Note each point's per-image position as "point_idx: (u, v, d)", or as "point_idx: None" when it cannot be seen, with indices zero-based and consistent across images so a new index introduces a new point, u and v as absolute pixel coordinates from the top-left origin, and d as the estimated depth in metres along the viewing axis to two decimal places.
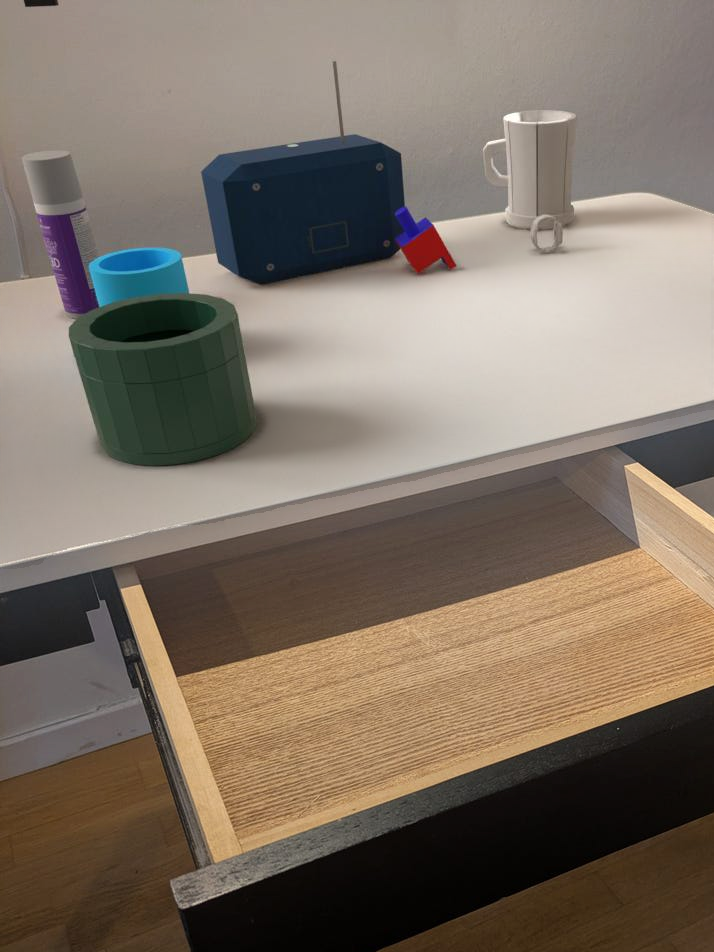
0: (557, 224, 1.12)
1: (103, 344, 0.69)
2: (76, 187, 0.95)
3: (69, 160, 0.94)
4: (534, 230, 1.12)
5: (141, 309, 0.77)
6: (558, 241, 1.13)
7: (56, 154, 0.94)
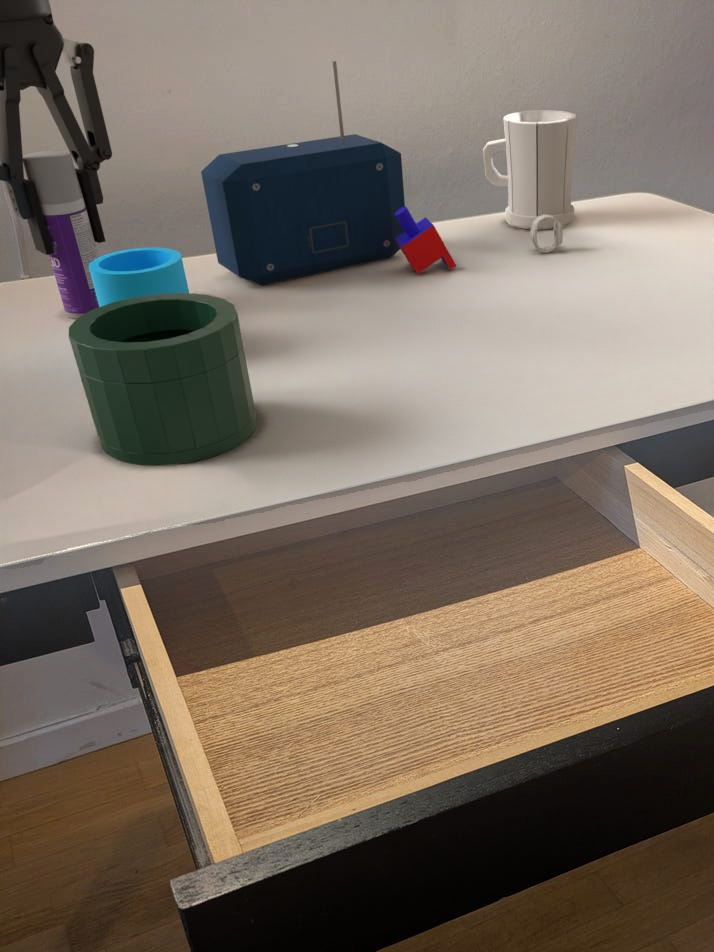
0: (557, 224, 1.12)
1: (103, 344, 0.69)
2: (76, 187, 0.95)
3: (69, 160, 0.94)
4: (534, 230, 1.12)
5: (141, 309, 0.77)
6: (558, 241, 1.13)
7: (56, 154, 0.94)
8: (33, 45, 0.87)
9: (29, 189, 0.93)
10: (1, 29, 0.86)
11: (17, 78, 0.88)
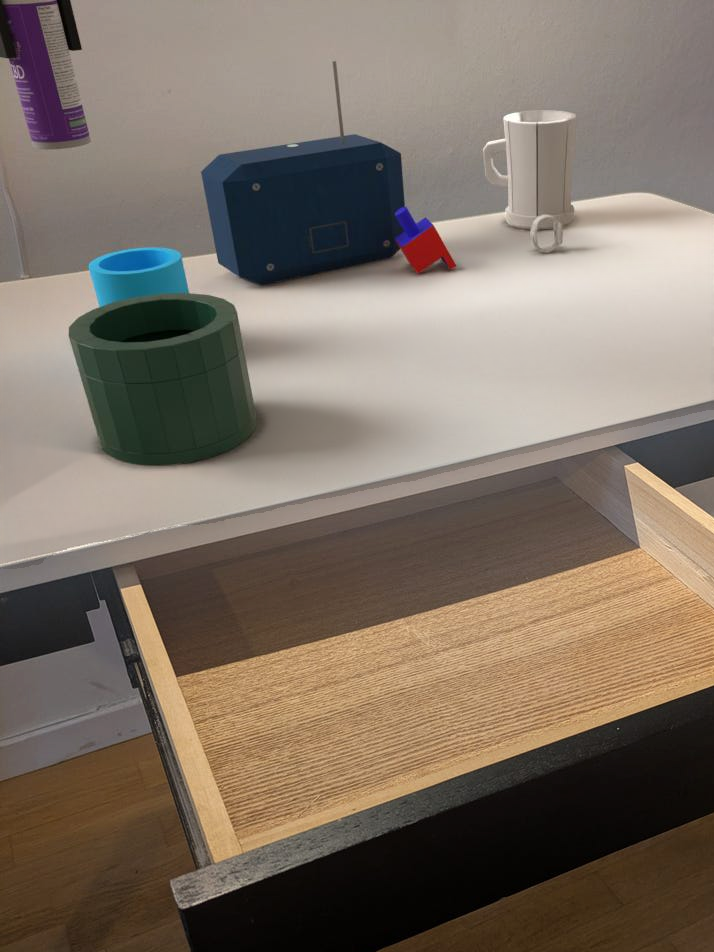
0: (557, 224, 1.12)
1: (103, 344, 0.69)
2: None
3: None
4: (534, 230, 1.12)
5: (141, 309, 0.77)
6: (558, 241, 1.13)
7: None
8: None
9: None
10: None
11: None
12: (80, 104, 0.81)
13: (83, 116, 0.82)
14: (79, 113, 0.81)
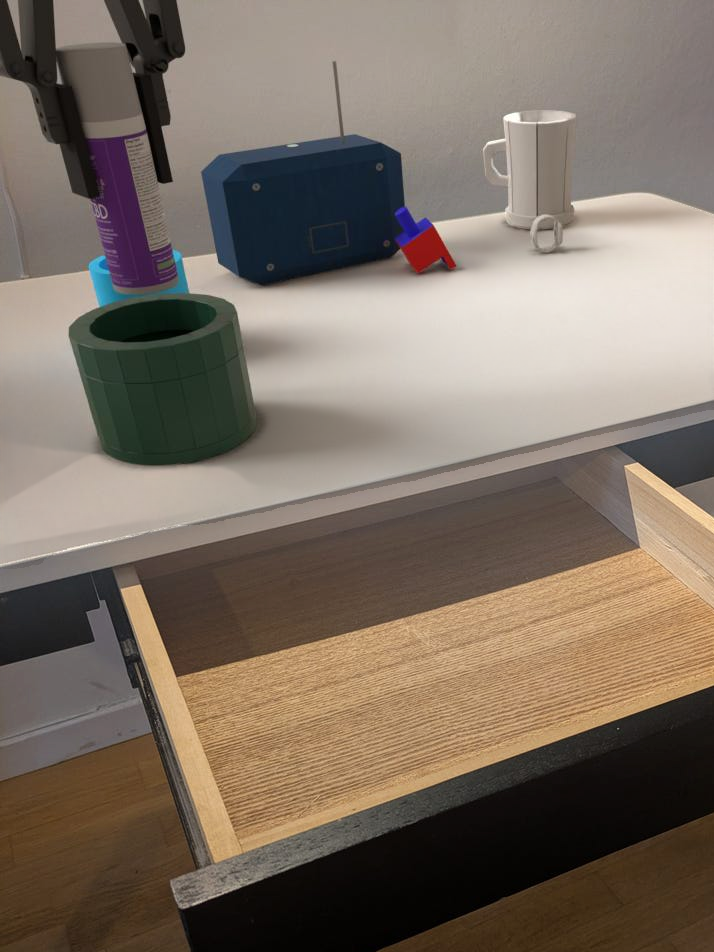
0: (557, 224, 1.12)
1: (103, 344, 0.69)
2: (134, 97, 0.64)
3: (125, 54, 0.62)
4: (534, 230, 1.12)
5: (141, 309, 0.77)
6: (558, 241, 1.13)
7: (105, 45, 0.62)
8: None
9: (65, 97, 0.62)
10: None
11: None
12: (169, 242, 0.70)
13: (172, 255, 0.70)
14: (168, 253, 0.70)
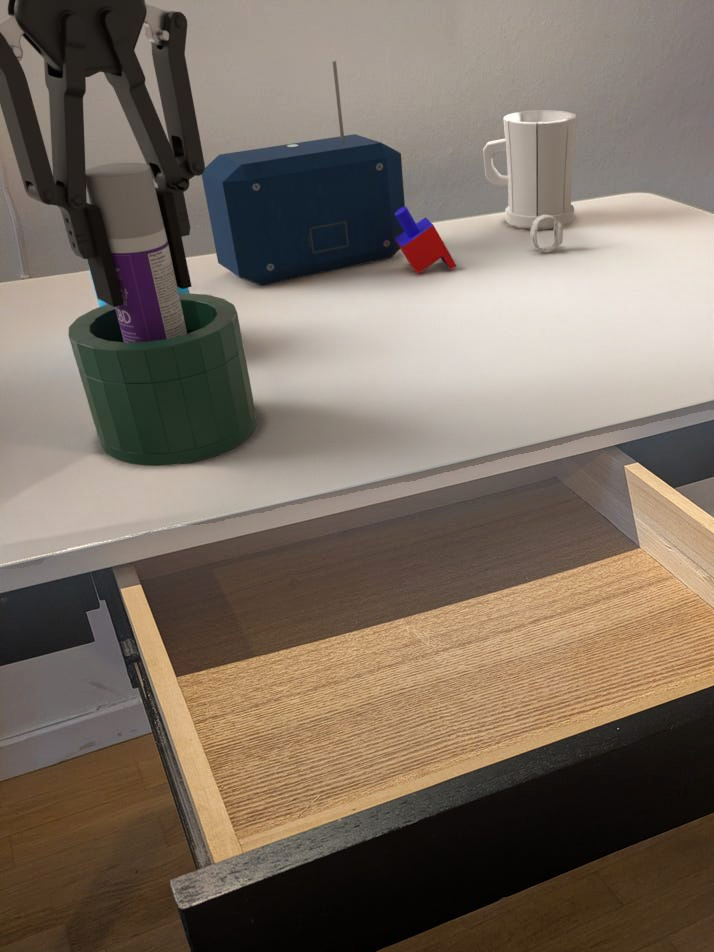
0: (557, 224, 1.12)
1: (103, 344, 0.69)
2: (157, 214, 0.68)
3: (149, 177, 0.67)
4: (534, 230, 1.12)
5: None
6: (558, 241, 1.13)
7: (131, 168, 0.67)
8: (106, 13, 0.61)
9: (93, 217, 0.66)
10: None
11: (82, 60, 0.61)
12: None
13: None
14: None
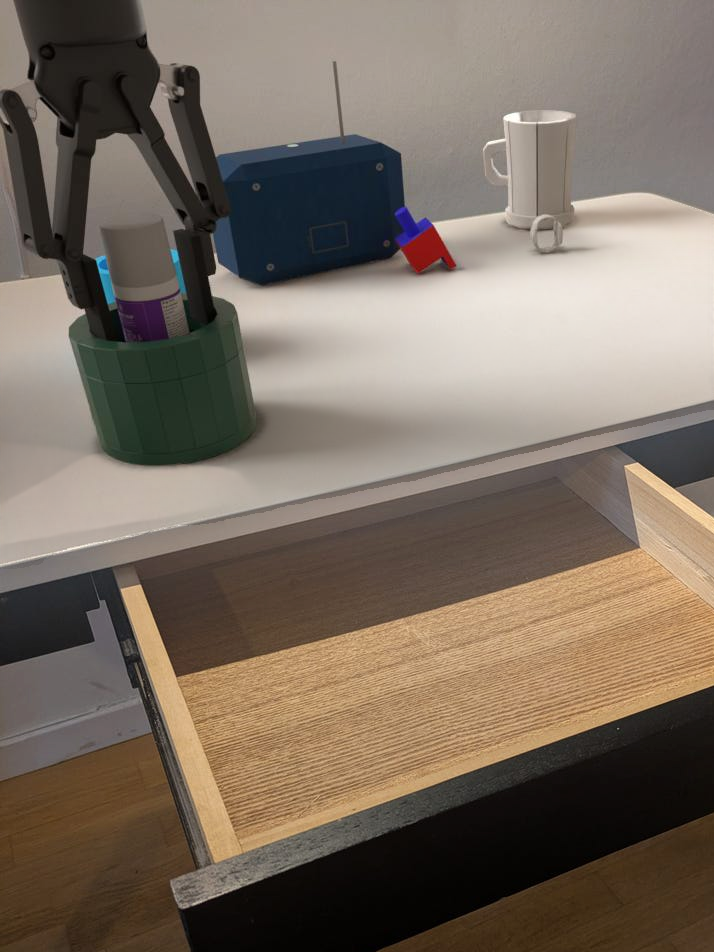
0: (557, 224, 1.12)
1: (103, 344, 0.69)
2: (169, 263, 0.70)
3: (162, 228, 0.69)
4: (534, 230, 1.12)
5: None
6: (558, 241, 1.13)
7: (144, 219, 0.69)
8: (121, 79, 0.63)
9: (90, 269, 0.67)
10: (79, 56, 0.61)
11: (95, 123, 0.63)
12: None
13: None
14: None
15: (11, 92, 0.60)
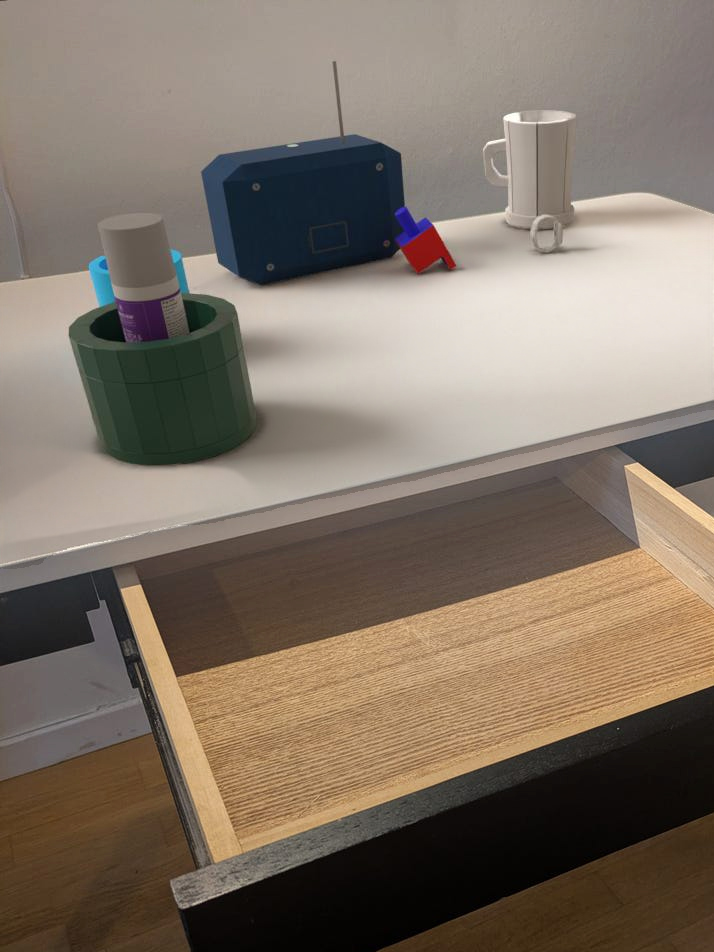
0: (557, 224, 1.12)
1: (103, 344, 0.69)
2: (169, 263, 0.70)
3: (162, 228, 0.69)
4: (534, 230, 1.12)
5: None
6: (558, 241, 1.13)
7: (144, 219, 0.69)
8: None
9: None
10: None
11: None
12: None
13: None
14: None
15: None
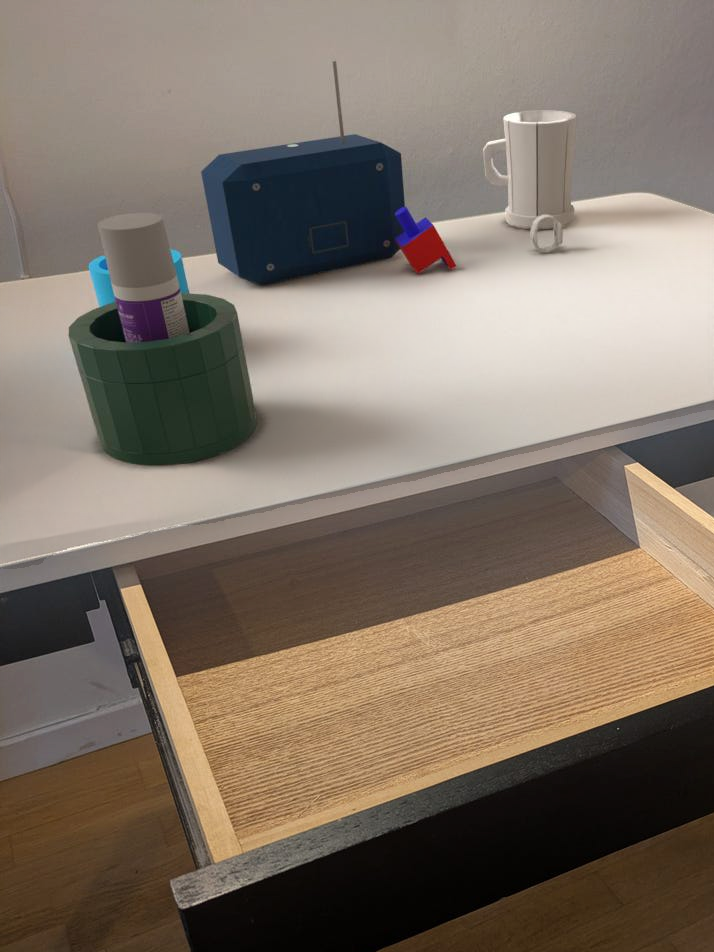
0: (557, 224, 1.12)
1: (103, 344, 0.69)
2: (169, 263, 0.70)
3: (162, 228, 0.69)
4: (534, 230, 1.12)
5: None
6: (558, 241, 1.13)
7: (144, 219, 0.69)
8: None
9: None
10: None
11: None
12: None
13: None
14: None
15: None
